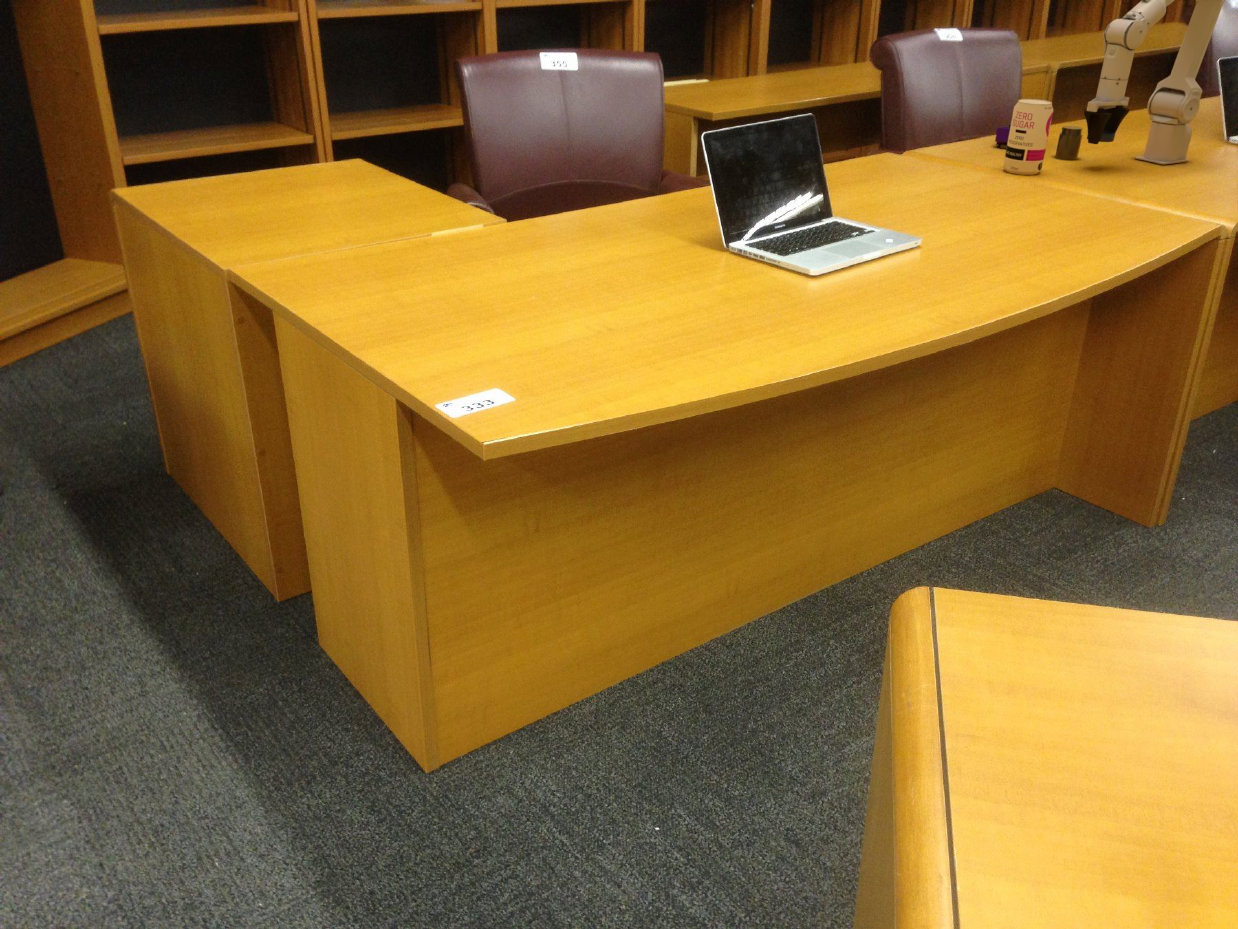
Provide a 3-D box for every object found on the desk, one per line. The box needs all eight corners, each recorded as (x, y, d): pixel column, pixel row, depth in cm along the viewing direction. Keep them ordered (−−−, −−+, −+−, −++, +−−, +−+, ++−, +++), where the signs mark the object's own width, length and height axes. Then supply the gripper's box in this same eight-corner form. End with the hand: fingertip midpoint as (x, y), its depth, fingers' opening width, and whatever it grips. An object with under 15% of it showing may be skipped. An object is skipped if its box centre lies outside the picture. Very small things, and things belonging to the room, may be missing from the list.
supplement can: (1040, 169, 238) (1054, 99, 231) (1040, 176, 231) (1055, 105, 224) (1002, 166, 240) (1015, 97, 233) (1002, 173, 233) (1015, 102, 226)
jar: (1064, 154, 253) (1070, 124, 249) (1081, 158, 249) (1088, 128, 246) (1050, 156, 250) (1056, 126, 247) (1068, 160, 247) (1074, 130, 243)
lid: (1117, 142, 234) (1119, 134, 233) (1091, 141, 234) (1093, 133, 233) (1108, 137, 239) (1110, 129, 238) (1083, 136, 239) (1085, 129, 238)
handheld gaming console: (1047, 127, 265) (1036, 129, 253) (1042, 149, 267) (1031, 151, 255) (1009, 123, 269) (997, 125, 257) (1005, 144, 271) (992, 147, 259)
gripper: (1115, 83, 223) (1100, 148, 230) (1147, 78, 232) (1132, 141, 238) (1084, 79, 228) (1070, 143, 235) (1117, 74, 237) (1103, 136, 243)
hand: (1099, 142), depth 237 cm, fingers closed on lid, 5 cm apart
